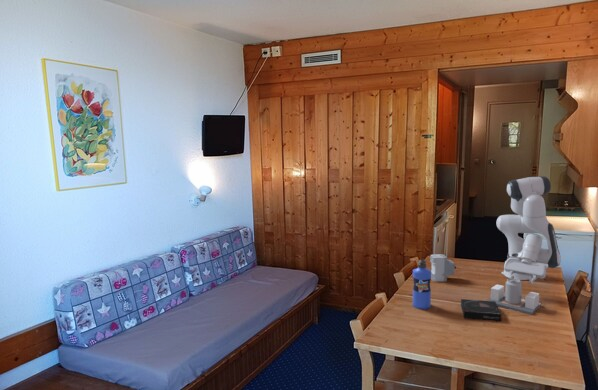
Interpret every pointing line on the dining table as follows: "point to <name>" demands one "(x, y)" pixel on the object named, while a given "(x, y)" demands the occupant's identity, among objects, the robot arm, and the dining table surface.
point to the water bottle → (421, 286)
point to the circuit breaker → (441, 267)
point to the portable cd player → (480, 310)
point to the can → (513, 291)
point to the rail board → (525, 306)
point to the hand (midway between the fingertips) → (521, 281)
